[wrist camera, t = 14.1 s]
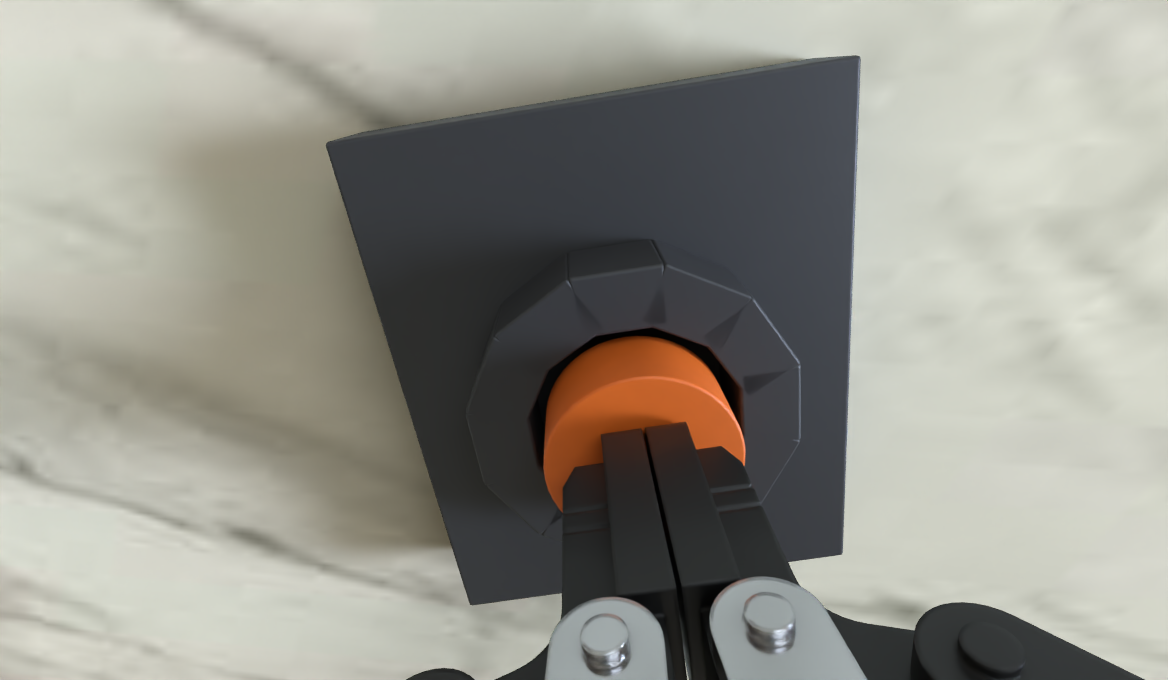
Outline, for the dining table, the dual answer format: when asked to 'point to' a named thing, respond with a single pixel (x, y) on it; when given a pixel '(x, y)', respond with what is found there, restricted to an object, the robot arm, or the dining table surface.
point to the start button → (631, 403)
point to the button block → (616, 285)
